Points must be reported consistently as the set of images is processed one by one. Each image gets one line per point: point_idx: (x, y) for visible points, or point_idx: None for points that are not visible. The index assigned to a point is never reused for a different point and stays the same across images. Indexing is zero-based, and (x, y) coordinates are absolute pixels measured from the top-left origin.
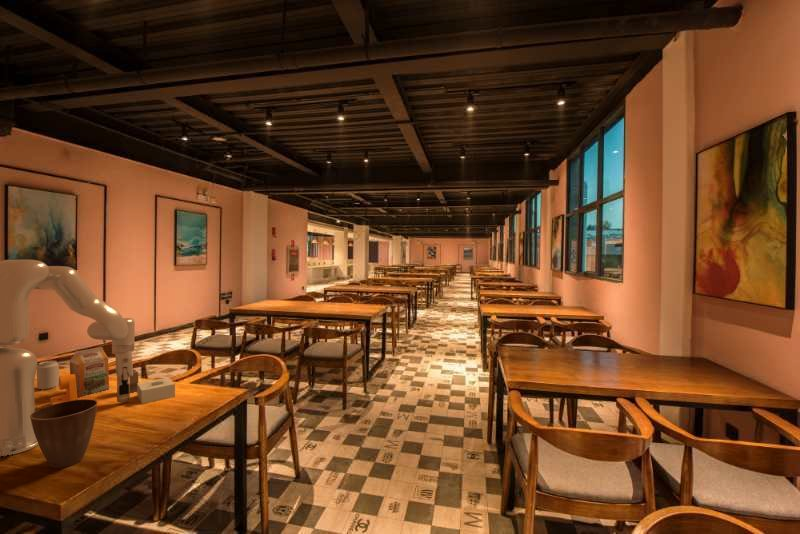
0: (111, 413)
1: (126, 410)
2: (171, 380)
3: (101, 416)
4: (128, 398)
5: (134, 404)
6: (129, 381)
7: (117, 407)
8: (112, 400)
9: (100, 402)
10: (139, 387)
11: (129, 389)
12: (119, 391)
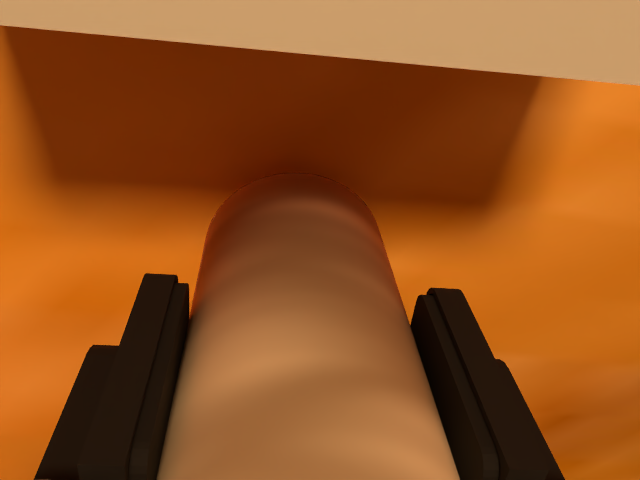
0: (558, 365)
1: (626, 243)
2: None
3: (552, 430)
4: (361, 213)
5: (479, 117)
6: (384, 473)
7: (402, 300)
8: (15, 305)
9: (17, 406)
10: (333, 52)
11: (350, 289)
12: None
